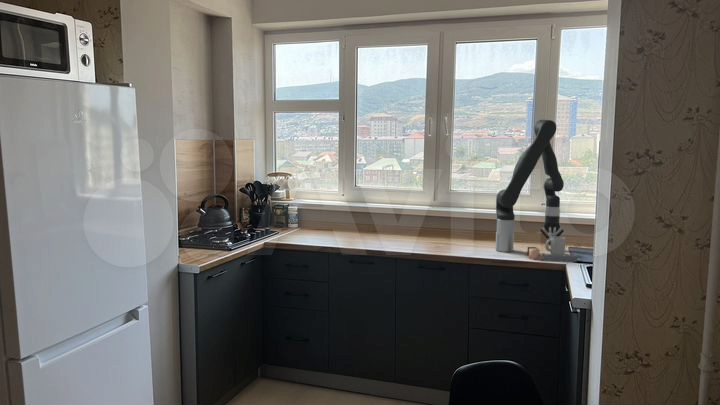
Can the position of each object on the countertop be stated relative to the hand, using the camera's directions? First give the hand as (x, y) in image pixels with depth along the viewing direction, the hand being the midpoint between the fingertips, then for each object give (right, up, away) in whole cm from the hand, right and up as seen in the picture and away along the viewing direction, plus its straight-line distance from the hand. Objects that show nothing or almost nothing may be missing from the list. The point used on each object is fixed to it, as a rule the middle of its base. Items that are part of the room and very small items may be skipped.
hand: (551, 245), depth 292 cm
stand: (-5, -5, -27) cm, 28 cm away
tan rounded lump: (-17, -5, -23) cm, 29 cm away
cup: (-2, -4, -11) cm, 12 cm away
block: (-15, -4, -14) cm, 21 cm away
